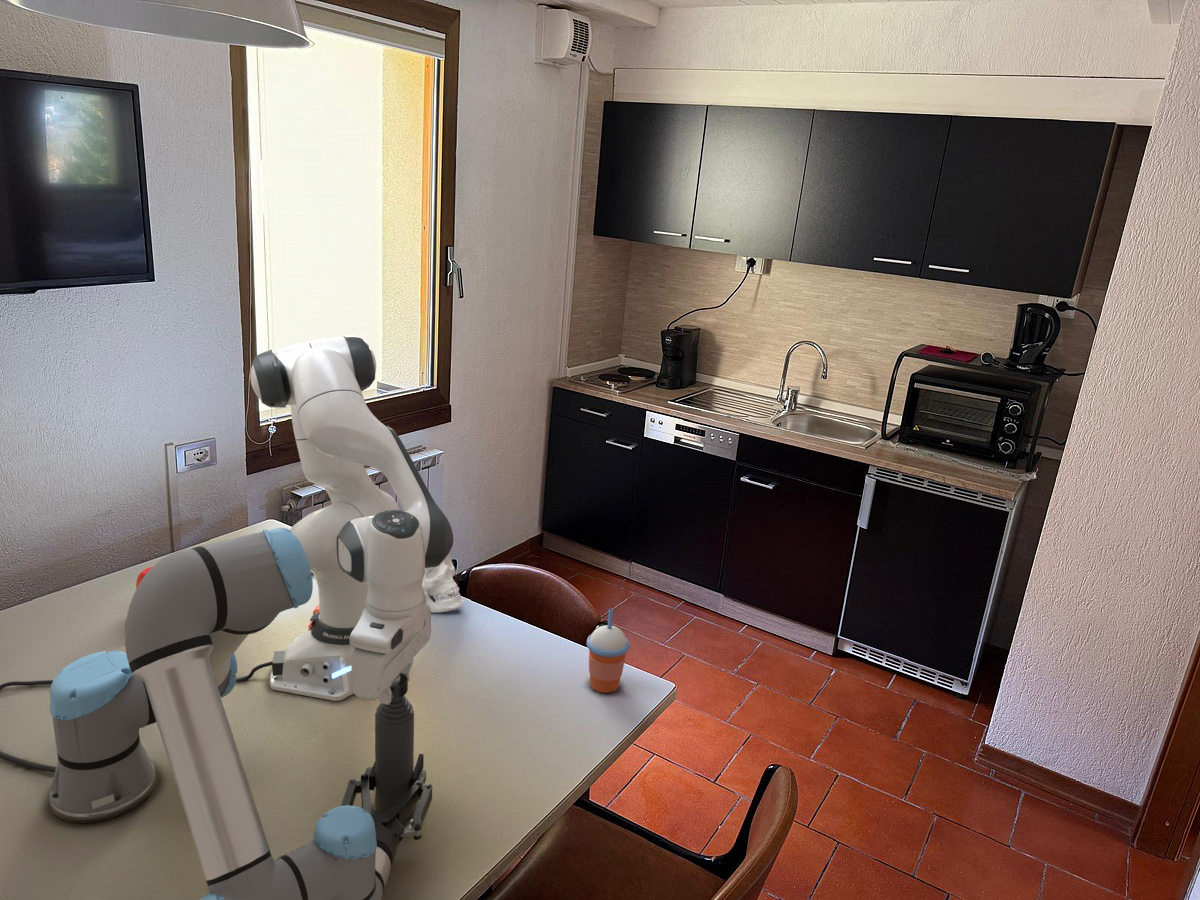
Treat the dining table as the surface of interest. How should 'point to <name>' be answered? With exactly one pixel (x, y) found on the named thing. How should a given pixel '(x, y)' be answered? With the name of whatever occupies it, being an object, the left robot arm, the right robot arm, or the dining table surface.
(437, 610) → the skull
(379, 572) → the right robot arm
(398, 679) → the cap
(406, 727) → the bottle
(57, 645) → the dining table surface
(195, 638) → the left robot arm
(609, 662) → the cup with straw
